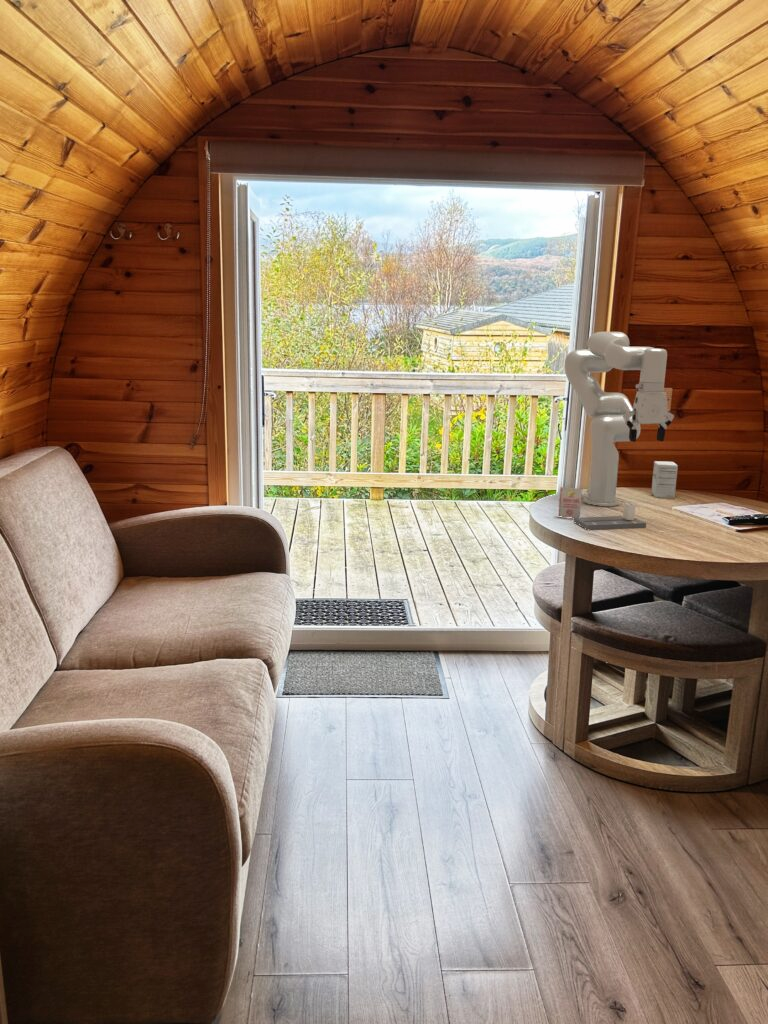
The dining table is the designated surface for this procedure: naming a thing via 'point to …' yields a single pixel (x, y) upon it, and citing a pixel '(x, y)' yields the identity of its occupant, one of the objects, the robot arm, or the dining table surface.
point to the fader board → (609, 522)
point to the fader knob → (629, 511)
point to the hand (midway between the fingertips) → (646, 440)
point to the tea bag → (570, 502)
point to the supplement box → (664, 479)
